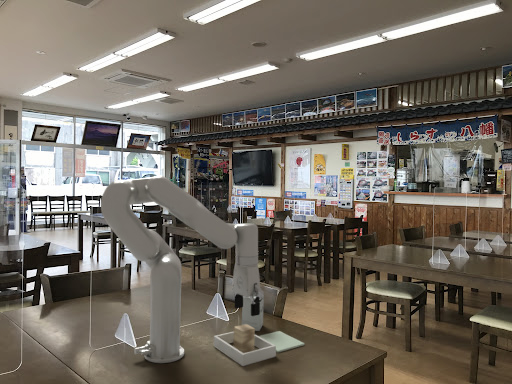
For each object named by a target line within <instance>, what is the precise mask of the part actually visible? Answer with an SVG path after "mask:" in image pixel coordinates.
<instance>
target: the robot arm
mask: <svg viewBox="0 0 512 384" xmlns="http://www.w3.org/2000/svg"><path fill="white" fill-rule="evenodd" d="M153 202H154V203H155V204H157V205H158V206H159V207H161V208H162V209H164V210H165V211H166V212H168V213H169V214H171V215H173V217H175V218H177V219H178V220H179V221H180V222H182V223H183V224H184V225H186V226H188V227H189V228H191V229H193V230H194V231H196V232H197V233H198V234H200V236H202V237H204V238H205V239H206V240H208V241H209V242H211V243H212V244H213V245H215V246H216V247H218V248H220V249H223V250H228V249H231V248H233V247H234V246H235V263H234V268H233V275H232V281H231V286H232V291H233V296H234V308H235V309H236V310H237V309H240V308H241V309H242V307H243V297H250V299H251V301H252V304H251V316H256V315H259V314H260V303H261V300H262V297H263V294H264V290H262V288H261V280H260V278H261V277H260V271H259V270H260V269H259V227H258V225H257V224H256V223H249V222H248V223H247V222H244V223H229V222H226V221H224V220H222V219H221V218H220V217H218V216H217V215H216V214H214V213H213V212H212V211H211V210H209V209H208V208H207V207H206V206H205V205H204V204H203V203H202V202H201V201H199V200H198V199H197V198H196V197H194V196H192V195H191V194H190V193H188V192H187V191H186V190H184V189H182V188H181V187H180V186H178V185H177V184H175V183H174V182H172V180H170V179H169V178H167V177H165V176H164V175H154V176H151V177H144V178H134V179H133V178H132V179H116V180H114V181H112V182H111V183H108V185H107V186H106V188H105V189H104V192H103V194H102V196H101V199H100V210H101V214H102V217H103V219H104V221H105V222H106V224H107V225H108V227H109V228H110V229H111V230H112V232H113V233H114V234H115V235H116V237H118V239H119V241H121V243H122V244H123V245H124V246H125V247H126V248H127V250H128V251H129V252H130V253H131V255H132V256H133V257H134V258H135V260H138V261H140V262H144V263H146V265H147V266H148V267H149V268H150V278H149V280H150V284H149V285H150V286H149V287H150V304H149V305H150V307H149V308H150V311H149V313H150V314H149V315H150V316H149V319H150V320H149V321H150V322H149V340H148V341H146V344H144V345H143V346H138V347H134V348H133V349H134V350H133V353H134V355H138V354H140V355H141V356H144V359H145V360H146V361H148V362H151V363H155V364H166V363H167V364H168V363H173V362H176V361H178V360H180V359H181V358H183V357H184V355H185V349H184V347H182V346H181V343H180V342H181V341H180V339H181V310H182V309H181V308H182V307H181V306H182V305H181V304H182V302H181V299H182V297H181V295H182V277H183V276H182V274H183V273H182V269H183V268H182V262H181V259H180V258H179V257H178V255H177V254H176V253H175V251H173V249H172V248H171V247H170V246H169V244H168V243H167V242H166V241H165V240H164V238H163V237H162V236H161V235H160V234H159V233H158V232H157V231H156V230H153V229H149V228H147V226H146V225H145V224H144V222H142V221H141V219H140V218H139V216H137V214H136V213H135V212H134V211H133V209H132V207H131V206H133V205H138V204H145V203H147V204H148V203H153ZM255 296H256V298H255V300H254V297H255Z"/></svg>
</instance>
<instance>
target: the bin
mask: <svg viewBox="0 0 512 384" xmlns="http://www.w3.org/2000/svg"><path fill="white" fill-rule="evenodd" d="M259 336H260V335H257V334H255V340H254V347H256V348H258V349H254V351H250V352H247V353H242V352H241V351H239V350H238V349H236V348H234V345H231V344H232V343H233V344H234V331H230V332H226V333H222V334H217V335H213V347H214V348H216V349H217V350H219V351H220V352H222V353H223V354H224V355H226V356H227V357H229V358H230V359H231V360H233V361H234V362H236V363H237V364H239V365H240V366H242V367H244V366H248V365H252V364H254V363H258V362H261V361H265V360H268V359H272V358H275V357H276V355H277V352H276V346H275V345H273V344H272V343H270V342H268V341H266V340H264V339H263V338H261V337H259Z"/></svg>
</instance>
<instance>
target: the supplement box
mask: <svg viewBox="0 0 512 384" xmlns="http://www.w3.org/2000/svg"><path fill="white" fill-rule="evenodd" d="M264 297H265V295H264V294H263V297H262V300H261V303H260V314H259V315H256V316H251V304H252V301H251V299H250V297H244V296H243V307H241V309H242V310H241V325H244V324H247V325H249V326H251V327H253V328H255V332H260V331H261V329H262V326H263V325H264ZM255 298H256V296H255V297H254V300H255Z"/></svg>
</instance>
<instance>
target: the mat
mask: <svg viewBox="0 0 512 384" xmlns="http://www.w3.org/2000/svg"><path fill="white" fill-rule="evenodd" d="M258 336H259V337H261V338H263V339H264V340H266V341H268V342H270V343H272V344H273V345H275V346H276V353H281V352H285V351H288V350H291V349H295V348H296V349H297V348H299V347H302V346H305V342H303V341H301V340H299V339H297V338H294V337H293V336H290V335H288V334H287V333H284V332H282V331H280V330H279V331H277V330H276V331H273V332H270V333H265V334H261V335H258Z"/></svg>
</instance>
